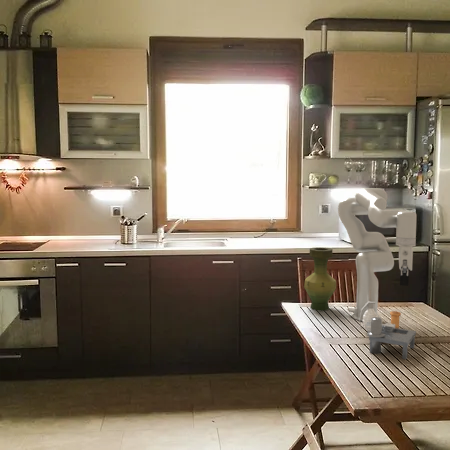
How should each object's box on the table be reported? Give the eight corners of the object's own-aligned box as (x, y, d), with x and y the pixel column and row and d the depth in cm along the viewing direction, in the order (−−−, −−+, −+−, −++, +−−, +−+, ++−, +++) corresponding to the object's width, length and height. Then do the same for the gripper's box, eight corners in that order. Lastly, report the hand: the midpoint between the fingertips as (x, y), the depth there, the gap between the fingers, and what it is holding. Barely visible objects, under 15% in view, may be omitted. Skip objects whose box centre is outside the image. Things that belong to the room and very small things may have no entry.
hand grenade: (360, 333, 212) (361, 303, 210) (357, 328, 218) (358, 299, 216) (379, 334, 211) (380, 304, 209) (375, 329, 217) (377, 300, 216)
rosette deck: (357, 351, 191) (358, 318, 189) (369, 338, 205) (370, 308, 203) (406, 360, 181) (407, 326, 180) (415, 347, 195) (416, 314, 194)
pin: (388, 336, 208) (389, 313, 207) (390, 333, 212) (391, 310, 210) (398, 338, 206) (399, 314, 205) (400, 335, 209) (401, 312, 208)
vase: (310, 302, 262) (311, 245, 259) (340, 306, 254) (341, 248, 250) (298, 309, 248) (299, 250, 244) (329, 314, 240) (331, 252, 236)
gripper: (415, 244, 193) (414, 288, 195) (415, 239, 210) (413, 279, 211) (395, 244, 196) (394, 286, 198) (396, 238, 212) (395, 278, 214)
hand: (404, 282), depth 204 cm, fingers open, 9 cm apart
